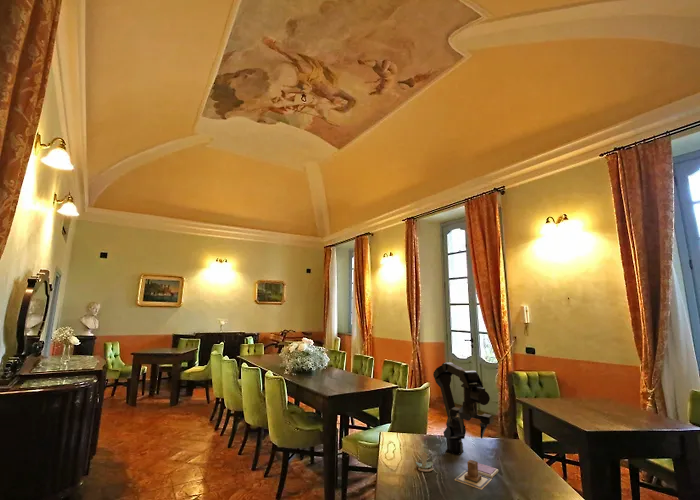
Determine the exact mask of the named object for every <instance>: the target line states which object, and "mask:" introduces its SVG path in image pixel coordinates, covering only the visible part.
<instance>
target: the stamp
mask: <svg viewBox="0 0 700 500" xmlns="http://www.w3.org/2000/svg"><path fill="white" fill-rule="evenodd" d="M478 463H479V462H478V461H476V460H473V459H469V460H468V461H467V471H468V473H466V474H465V475H464V479H465V480H468V481H471V482H474V483H478V482H479V481H480V480H481V474H478Z"/></svg>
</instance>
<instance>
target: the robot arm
mask: <svg viewBox="0 0 700 500" xmlns="http://www.w3.org/2000/svg"><path fill="white" fill-rule="evenodd" d="M452 376H455V377H458V378H459V381H460V382H461V383H462V384H461V385H460V386H461V387H462V388H463V401H462V406H461V407H456V403H455V400H454V396H453V392H452V389H451V386H450V385H451V383H452ZM433 379H434V380H435V383H436V384H437V386H438V387H439V388H440V391H441V396H442V400H443V403H444V407H445V411H446V416H447V420H446V422H445V426H446V428H445V429H444V431H443V437H444V438H445V439H446V449H445V452H447V453H449V454H453V455H456V456H459V455H461V454H462V453H463V452H464V446H463V445H464V444H463V439H464V440H465V437H466V432H467V429H466V425H465V422H464V420H465V421H467V422H468V421H470V420H471V419H475V420H479V421H480V422H479V425H480V439H482V440H483V438H484V435H485V433H486V429H487V427H488V426H489V425H491V424H493V423H494V422H495V417H494V416H493V414H489V413H483V414H479V410H478V404H480V405H481V406H486V405H488V404H489V403H490V398H491V397H490V395H489V392H487V391H486V388H485V387H484V384H483V382H482V379H481V378H480V376H479V374H478V372H477V371H476V370H475V369H474V370H473V369H465V368H463V367H461V366H459V365H457V364H454V362H448V361H446V362H445V361H444V362H443V363H442V364H441V365H440V366H438V367H436V368H435V370H434V371H433Z"/></svg>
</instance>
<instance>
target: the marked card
mask: <svg viewBox="0 0 700 500" xmlns="http://www.w3.org/2000/svg"><path fill="white" fill-rule="evenodd" d="M466 473H468V470H465V469H464V471H462V472H461V474H459V475H458V476H456V478H454V481H455V482H459V483H461V484H464V485H467V486H469V487H472V488H475V489H478V490H481V491H482V490H484V488H486V486H487V485H488V484H490V482H491V481H492V478H490V477H487V476H484V475H481V474H480V475H481V480H480V481H479V482H478V483H474V482H471V481H468V480H465V479H464V475H465V474H466Z"/></svg>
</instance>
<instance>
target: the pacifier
mask: <svg viewBox="0 0 700 500" xmlns="http://www.w3.org/2000/svg"><path fill="white" fill-rule="evenodd" d="M420 459H421V462H417V461H415V464H416V466H418V467H417V468H418V469H417V470H418V471H420V472H426V473H427V472H431V471H433V470H434V467H433V465H434V463H433V461H428V453H426V452H422V453H421V454H420Z"/></svg>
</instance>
